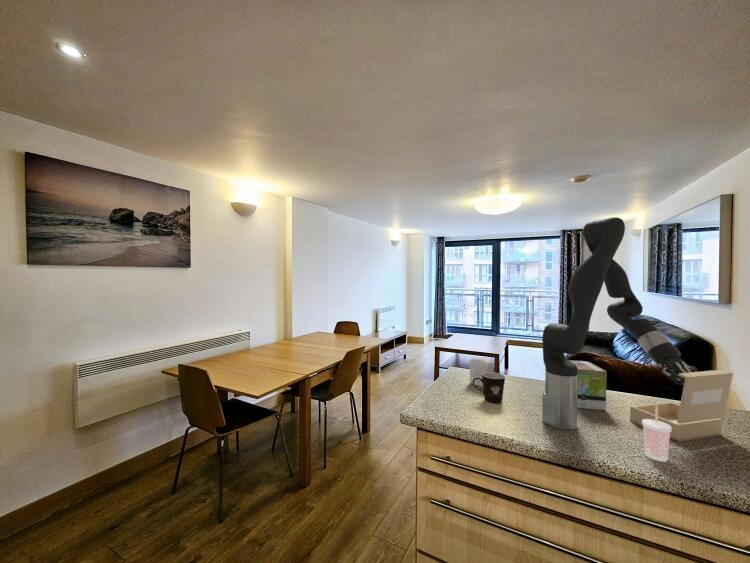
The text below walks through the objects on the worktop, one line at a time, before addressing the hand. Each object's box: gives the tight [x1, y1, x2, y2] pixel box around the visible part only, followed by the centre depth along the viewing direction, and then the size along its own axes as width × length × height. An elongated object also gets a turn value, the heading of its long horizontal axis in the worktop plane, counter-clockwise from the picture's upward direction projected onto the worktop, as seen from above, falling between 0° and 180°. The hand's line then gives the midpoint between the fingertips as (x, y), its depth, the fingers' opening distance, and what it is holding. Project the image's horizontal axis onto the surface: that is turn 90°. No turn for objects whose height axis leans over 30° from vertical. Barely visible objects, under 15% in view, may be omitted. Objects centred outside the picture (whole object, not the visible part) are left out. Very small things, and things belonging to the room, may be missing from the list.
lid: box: [677, 369, 734, 423], centre depth 96 cm, size 18×15×2 cm
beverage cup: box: [642, 405, 672, 462], centre depth 86 cm, size 6×6×14 cm
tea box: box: [568, 359, 608, 411], centre depth 124 cm, size 15×10×15 cm, turn 168°
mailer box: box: [629, 401, 723, 443], centre depth 103 cm, size 18×14×5 cm
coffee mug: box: [471, 371, 506, 405], centre depth 126 cm, size 12×9×10 cm
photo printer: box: [469, 357, 493, 388], centre depth 143 cm, size 10×4×12 cm, turn 36°
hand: (702, 396), depth 96 cm, fingers closed
